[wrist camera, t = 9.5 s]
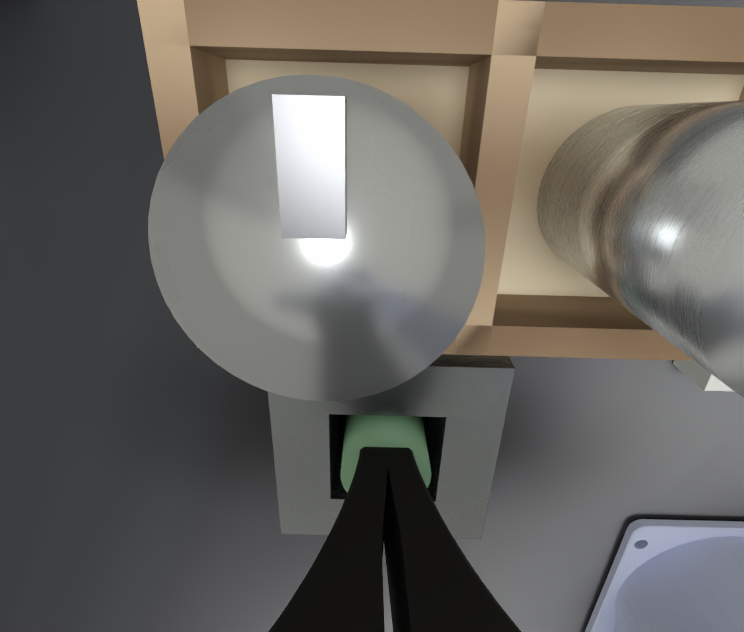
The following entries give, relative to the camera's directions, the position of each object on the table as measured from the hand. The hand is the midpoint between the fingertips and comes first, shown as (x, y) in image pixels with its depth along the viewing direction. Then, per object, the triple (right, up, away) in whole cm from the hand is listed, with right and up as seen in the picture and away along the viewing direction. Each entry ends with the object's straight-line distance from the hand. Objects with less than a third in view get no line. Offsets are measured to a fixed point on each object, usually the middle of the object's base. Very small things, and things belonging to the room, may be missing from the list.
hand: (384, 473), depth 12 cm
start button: (0, +1, +3) cm, 3 cm away
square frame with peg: (0, +1, +3) cm, 3 cm away
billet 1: (-1, +8, -1) cm, 8 cm away
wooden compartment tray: (+2, +8, 0) cm, 8 cm away
